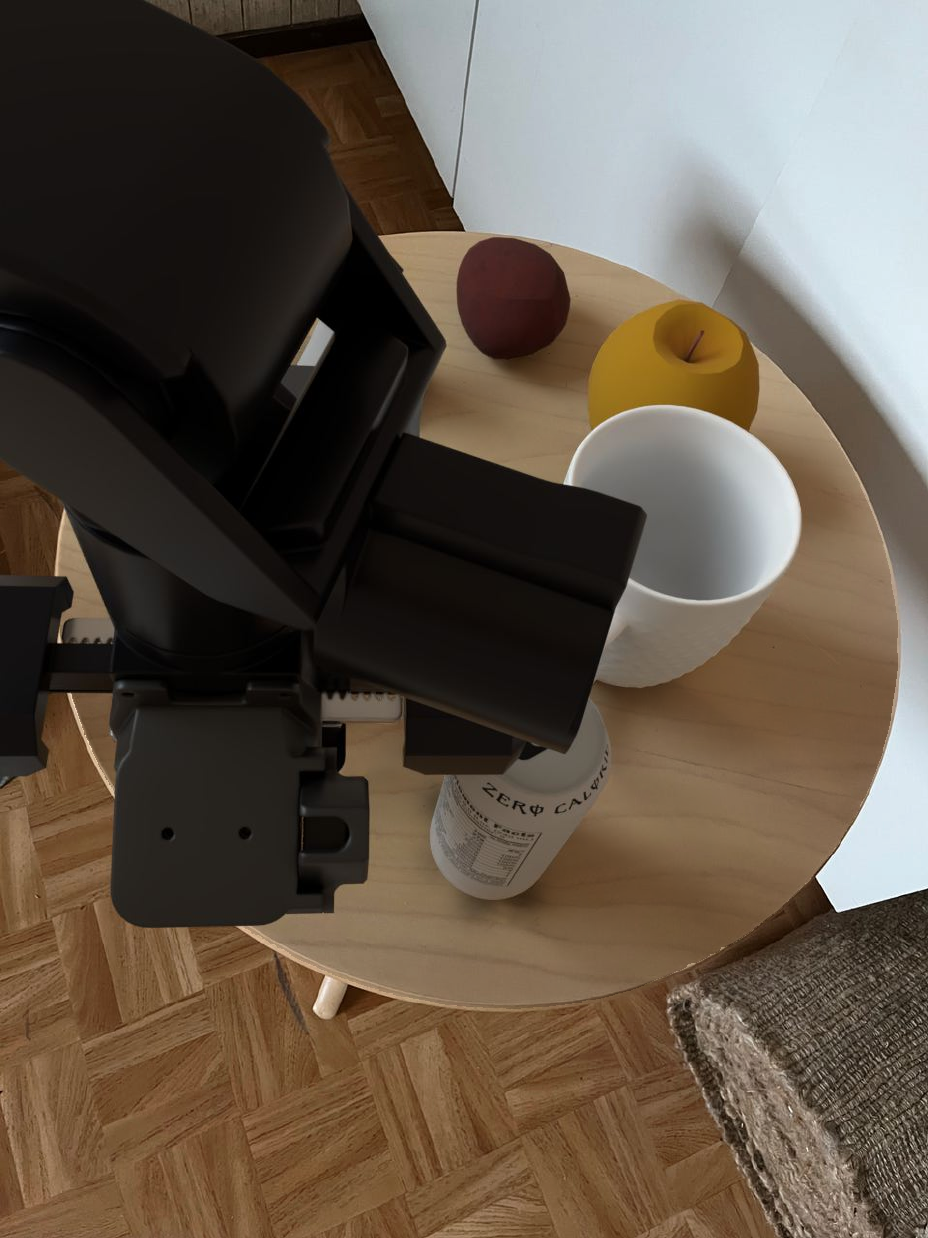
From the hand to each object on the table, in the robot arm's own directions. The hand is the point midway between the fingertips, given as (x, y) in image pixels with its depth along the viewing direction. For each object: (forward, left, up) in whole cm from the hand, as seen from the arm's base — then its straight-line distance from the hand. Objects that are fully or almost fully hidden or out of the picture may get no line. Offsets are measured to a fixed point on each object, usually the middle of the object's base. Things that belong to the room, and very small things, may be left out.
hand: (252, 762), depth 40 cm
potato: (+14, +34, -11) cm, 38 cm away
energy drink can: (+11, 0, -11) cm, 15 cm away
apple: (+22, +23, -11) cm, 34 cm away
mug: (+18, +11, -11) cm, 24 cm away
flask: (+4, +29, -11) cm, 31 cm away
